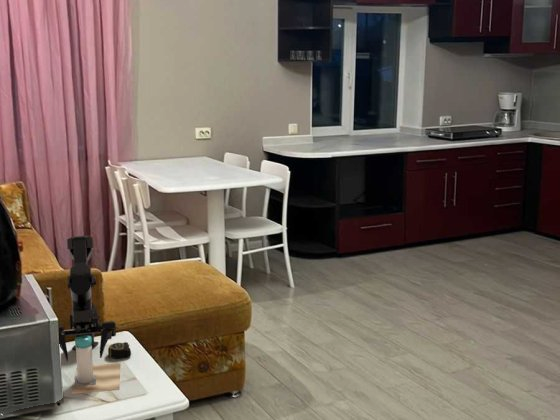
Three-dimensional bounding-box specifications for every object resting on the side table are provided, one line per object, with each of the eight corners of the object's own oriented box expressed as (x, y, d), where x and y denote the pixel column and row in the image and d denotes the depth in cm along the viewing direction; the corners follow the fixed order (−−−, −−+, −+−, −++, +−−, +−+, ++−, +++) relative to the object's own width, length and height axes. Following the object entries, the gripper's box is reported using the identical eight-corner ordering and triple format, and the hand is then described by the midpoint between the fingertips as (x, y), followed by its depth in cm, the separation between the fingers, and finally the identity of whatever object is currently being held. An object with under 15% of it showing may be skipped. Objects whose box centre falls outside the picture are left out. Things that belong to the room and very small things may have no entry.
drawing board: (77, 367, 208) (77, 365, 208) (120, 364, 210) (120, 362, 210) (71, 395, 191) (71, 393, 190) (119, 391, 193) (119, 389, 193)
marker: (83, 375, 201) (81, 334, 199) (97, 378, 200) (94, 336, 197) (74, 382, 197) (71, 340, 194) (87, 384, 196) (85, 342, 193)
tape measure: (131, 359, 214) (131, 348, 213) (109, 362, 212) (108, 351, 211) (129, 351, 221) (129, 340, 220) (107, 353, 218) (107, 342, 218)
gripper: (47, 300, 194) (47, 352, 186) (114, 295, 199) (117, 345, 191) (50, 316, 204) (50, 366, 196) (114, 311, 208) (117, 359, 200)
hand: (84, 359), depth 195 cm, fingers open, 9 cm apart
